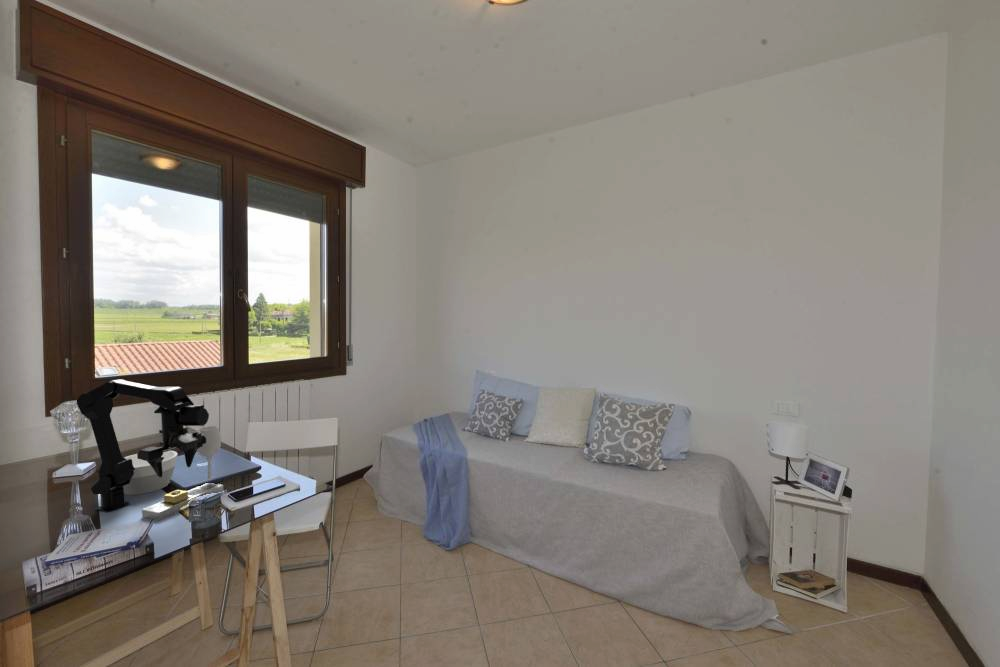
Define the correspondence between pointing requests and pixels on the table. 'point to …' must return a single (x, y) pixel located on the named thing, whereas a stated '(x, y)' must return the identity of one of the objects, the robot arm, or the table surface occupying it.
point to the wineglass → (210, 444)
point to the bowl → (150, 474)
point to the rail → (166, 510)
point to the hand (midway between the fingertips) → (175, 471)
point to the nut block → (175, 497)
